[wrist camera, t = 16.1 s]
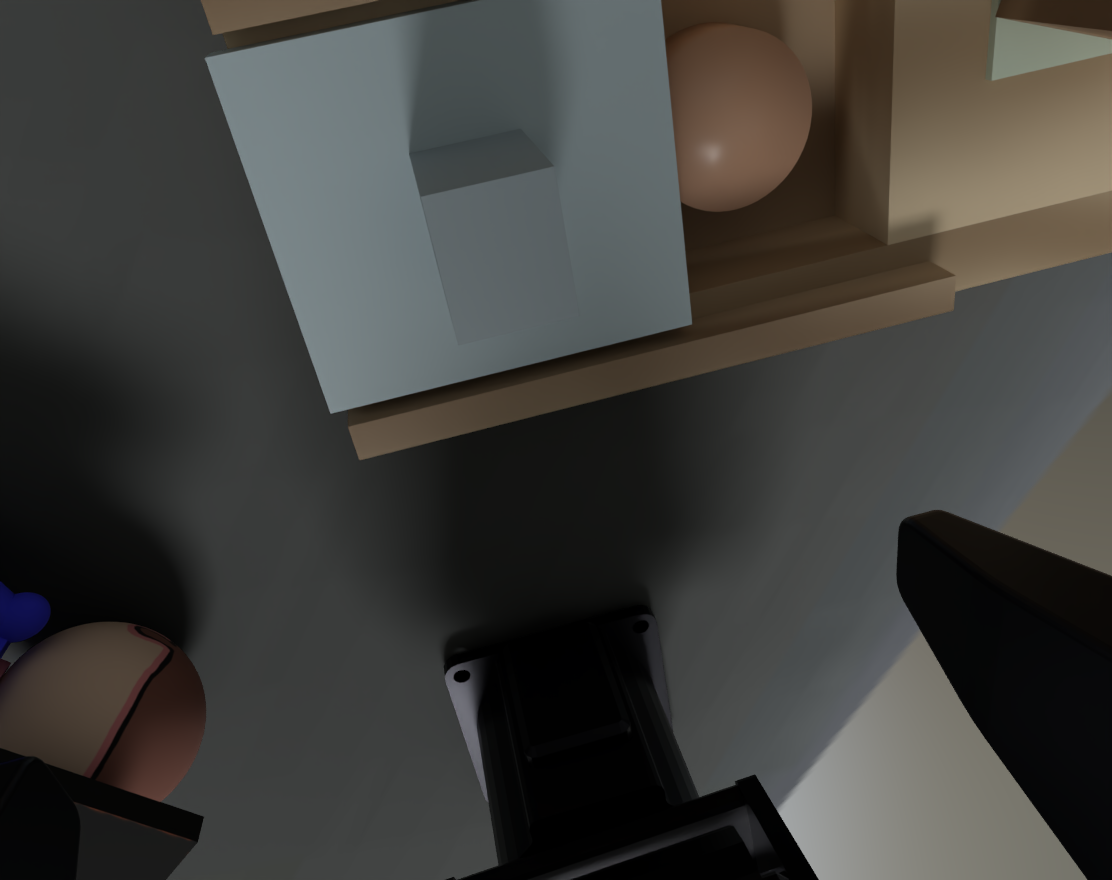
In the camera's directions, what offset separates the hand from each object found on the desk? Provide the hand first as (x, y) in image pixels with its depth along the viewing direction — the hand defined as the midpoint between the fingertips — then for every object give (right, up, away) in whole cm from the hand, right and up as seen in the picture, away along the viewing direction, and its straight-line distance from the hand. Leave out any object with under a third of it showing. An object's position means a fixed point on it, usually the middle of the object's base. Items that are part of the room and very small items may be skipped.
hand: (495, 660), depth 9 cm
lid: (-1, +7, +8) cm, 10 cm away
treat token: (+4, +9, +10) cm, 14 cm away
